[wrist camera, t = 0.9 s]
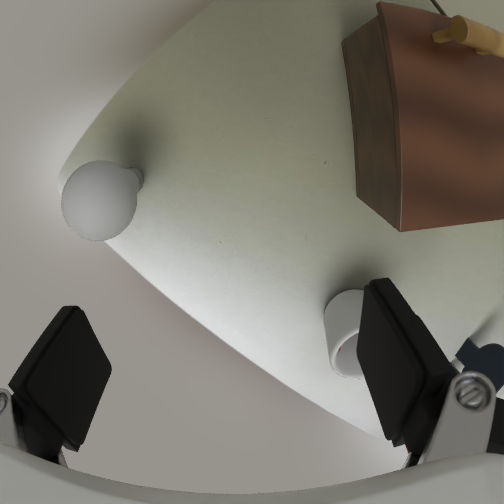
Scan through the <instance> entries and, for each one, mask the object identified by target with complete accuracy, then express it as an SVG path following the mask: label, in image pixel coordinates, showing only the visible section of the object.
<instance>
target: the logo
mask: <svg viewBox="0 0 504 504" xmlns="http://www.w3.org/2000/svg"><path fill="white" fill-rule="evenodd" d="M455 356H456V357H457V359H458V360H459V361H460V362H461V363H462V364H463V365H464V366H465V367H464V368H463V370H462V372H466V371H475V372H479V373H481V374H484V375H485V376H486V377H488V378H489V379H490V380H491V382H492V383H493V384H494V387H495V390H496V393H497V392H498V391H499V390H500V389H501V388H502V386H503V385H504V347H503V346H501V345H499V344H495V343H492V344H487V345H485V346H483V347H481V348H478V347H477V346H476V345H475V344H474V343H473V342H472V341H471V340H470V339H469V338H468V339H467V340H466V341H465V343H464V344H463V346H462V347H461V349H460V350H459V351H458V353H457V354H456V355H455ZM450 364H451V363H450ZM451 366H452V367H453V369H454V371H455V372H456V374H457V375H458V374H460V372H459V371H458V370H457V369H456V368H455V367H454V366H453V365H452V364H451Z"/></svg>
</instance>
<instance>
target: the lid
mask: <svg viewBox="0 0 504 504" xmlns="http://www.w3.org/2000/svg"><path fill="white" fill-rule="evenodd" d="M376 7H377V11H378V15H379V20H380V24H381V29H382V34H383V39H384V44H385V50H386V56H387V62H388V68H389V75H390V83H391V91H392V100H393V111H394V123H395V140H396V171H397V192H396V224H395V228H396V229H397V230H398V231H399V232H404V231H412V230H420V229H428V228H436V227H445V226H453V225H461V224H469V223H477V222H485V221H494V220H502V219H504V34H503V33H502V32H499V31H497V30H495V29H492V28H490V27H488V26H486V25H483V24H481V23H478V22H476V21H473V20H470V19H468V18H465V17H463V16H460V15H456V16H454V17H453V18H450V17H447V16H443V15H440V14H436V13H433V12H429V11H425V10H421V9H417V8H412V7H408V6H403V5H398V4H393V3H387V2H381V1H380V2H379V3H377V4H376Z"/></svg>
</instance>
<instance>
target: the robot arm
mask: <svg viewBox="0 0 504 504" xmlns="http://www.w3.org/2000/svg"><path fill="white" fill-rule="evenodd" d="M356 353H357V358H358V361H359V364H360V366H361V369H362V372H363V375H364V377H365V380H366V383H367V386H368V388H369V391H370V394H371V397H372V400H373V402H374V405H375V408H376V411H377V414H378V417H379V420H380V423H381V426H382V429H383V432H384V435H385V438H386V439H387V440H392V443H393V446H394V447H397V446H400V445H403V444H406V447H407V450H408V452H410V453H409V455H408V457H407V459H406V461H405V463H404V465H403V467H402V469H401V470H397V471H393V472H390V473H386V474H382V475H379V476H375V477H371V478H366V479H362V480H358V481H354V482H349V483H343V484H337V485H331V486H325V487H319V488H313V489H305V490H297V491H288V492H276V493H258V494H210V493H209V494H208V493H193V492H181V491H172V490H163V489H156V488H150V487H143V486H138V485H132V484H127V483H122V482H118V481H113V480H109V479H105V478H101V477H97V476H93V475H90V474H86V473H82V472H79V471H76V470H73V469H70V468H68V467H67V464H66V461H65V458H64V455H63V452H62V450H61V447H62V445H63V446H64V447H65V448H66V449H69V450H72V451H76V452H78V450H79V448H80V445H82V444H83V443H84V440H85V438H86V435H87V432H88V430H89V427H90V424H91V422H92V419H93V416H94V414H95V411H96V409H97V406H98V404H99V401H100V399H101V396H102V394H103V391H104V389H105V386H106V384H107V382H108V379H109V377H110V375H111V370H112V368H111V364H110V362H109V360H108V358H107V356H106V354H105V353H104V351H103V349H102V347H101V345H100V343H99V341H98V339H97V337H96V335H95V333H94V331H93V329H92V327H91V325H90V323H89V321H88V319H87V317H86V315H85V313H84V311H83V310H81V309H80V308H79V307H78V306H63V307H62V308H61V309H60V311H59V312H58V313H57V315H56V316H55V317H54V318H53V320H52V321H51V322H50V324H49V325H48V326H47V328H46V329H45V331H44V332H43V333H42V335H41V336H40V338H39V339H38V340H37V342H36V343H35V344H34V346H33V348H32V349H31V350H30V352H29V353H28V355H27V356H26V358H25V359H24V361H23V362H22V364H21V365H20V367H19V368H18V370H17V371H16V373H15V374H14V376H13V378H12V379H11V381H10V382H9V384H8V385H9V387H10V388H11V389H12V390H13V392H14V394H13V395H11V394H10V392H9V391H8V390H6V389H2V388H0V504H504V400H503V399H500V398H497V397H496V390H495V387H494V384H493V383H492V382H491V380H490V379H489V378H488V377H486V376H485V375H484V374H481V373H479V372H475V371H466V372H462V373H460V374H458V375H457V374H456V372H455V371H454V369H453V367H452V366H451V364H450V362H449V361H448V359H447V358H446V356H445V354H444V353H443V351H442V350H441V348H440V347H439V345H438V344H437V342H436V341H435V339H434V338H433V336H432V335H431V333H430V332H429V330H428V329H427V327H426V326H425V324H424V323H423V321H422V320H421V318H420V317H419V316H418V315H416V314H415V313H414V312H413V310H412V309H411V307H410V306H409V305H408V303H407V302H406V300H405V299H404V298H403V296H402V295H401V293H400V292H399V291H398V289H397V288H396V287H395V285H394V284H393V283H392V281H391V280H390V279H389V278H382V279H375V280H371V281H370V283H369V285H366V286H365V288H364V295H363V304H362V312H361V320H360V327H359V334H358V341H357V347H356Z"/></svg>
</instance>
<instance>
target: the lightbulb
mask: <svg viewBox="0 0 504 504" xmlns="http://www.w3.org/2000/svg"><path fill="white" fill-rule="evenodd" d="M143 183H144V179H143V175H142V173H141V172H140V171H139V170H138V169H136V168H127V169H124V168H122V167H121V166H119V165H117V164H115V163H113V162H109V161H100V160H97V161H92V162H89V163H86V164H84V165H82V166H81V167H79V168H78V169H77V170H76V171H74V172H73V173H72V175H71V176H70V177H69V179H68V180H67V182H66V184H65V186H64V189H63V192H62V200H61V206H62V212H63V216H64V218H65V221H66V222H67V224H68V226H69V227H70V228H71V229H72V231H74V232H75V233H76V234H77V235H79V236H81V237H82V238H85V239H88V240H91V241H103V240H107V239H111V238H113V237H115V236H117V235H118V234H120V233H121V232H122V231H123V230H124V229H125V228H126V227H127V226H128V225H129V223H130V222H131V220H132V218H133V216H134V213H135V211H136V206H137V193H138V191H139V190H140V189H141V188H142V186H143Z"/></svg>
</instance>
